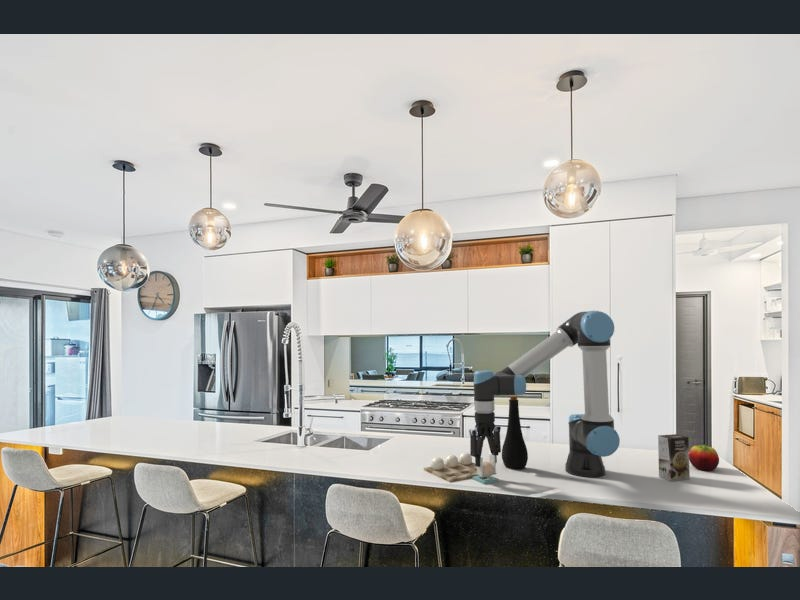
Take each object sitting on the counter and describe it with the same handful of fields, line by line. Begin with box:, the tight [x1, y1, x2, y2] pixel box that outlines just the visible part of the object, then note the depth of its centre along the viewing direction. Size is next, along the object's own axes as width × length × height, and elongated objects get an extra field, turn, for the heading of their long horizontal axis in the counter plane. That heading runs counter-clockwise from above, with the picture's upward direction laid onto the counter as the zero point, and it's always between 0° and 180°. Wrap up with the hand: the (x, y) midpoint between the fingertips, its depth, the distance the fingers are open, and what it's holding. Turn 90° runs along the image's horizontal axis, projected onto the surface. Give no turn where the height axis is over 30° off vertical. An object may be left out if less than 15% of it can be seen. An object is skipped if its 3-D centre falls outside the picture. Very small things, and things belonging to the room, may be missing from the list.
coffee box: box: [657, 433, 691, 482], centre depth 192 cm, size 9×6×16 cm
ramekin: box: [471, 475, 500, 485], centre depth 187 cm, size 7×7×2 cm
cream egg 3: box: [458, 452, 473, 466], centre depth 206 cm, size 6×6×6 cm
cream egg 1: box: [430, 456, 445, 471], centre depth 199 cm, size 6×6×6 cm
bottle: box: [501, 395, 529, 470], centre depth 205 cm, size 11×11×30 cm
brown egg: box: [483, 461, 494, 477], centre depth 187 cm, size 6×6×6 cm
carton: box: [423, 461, 495, 483], centre depth 198 cm, size 22×18×2 cm
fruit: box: [689, 444, 720, 472], centre depth 204 cm, size 11×11×10 cm
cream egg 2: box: [444, 454, 459, 468], centre depth 202 cm, size 6×6×6 cm
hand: (486, 473), depth 187 cm, fingers closed on brown egg, 5 cm apart
